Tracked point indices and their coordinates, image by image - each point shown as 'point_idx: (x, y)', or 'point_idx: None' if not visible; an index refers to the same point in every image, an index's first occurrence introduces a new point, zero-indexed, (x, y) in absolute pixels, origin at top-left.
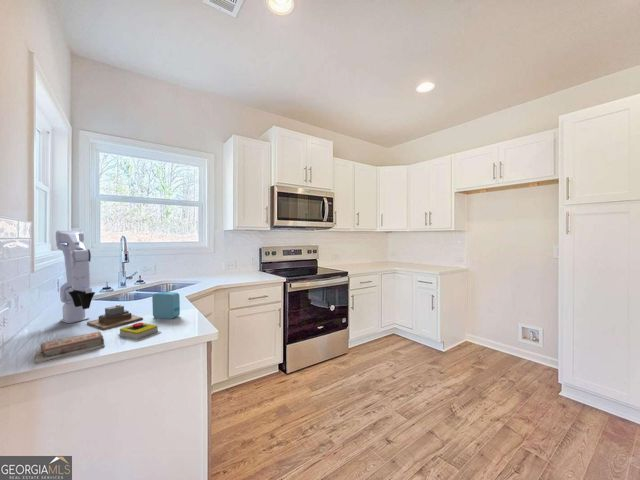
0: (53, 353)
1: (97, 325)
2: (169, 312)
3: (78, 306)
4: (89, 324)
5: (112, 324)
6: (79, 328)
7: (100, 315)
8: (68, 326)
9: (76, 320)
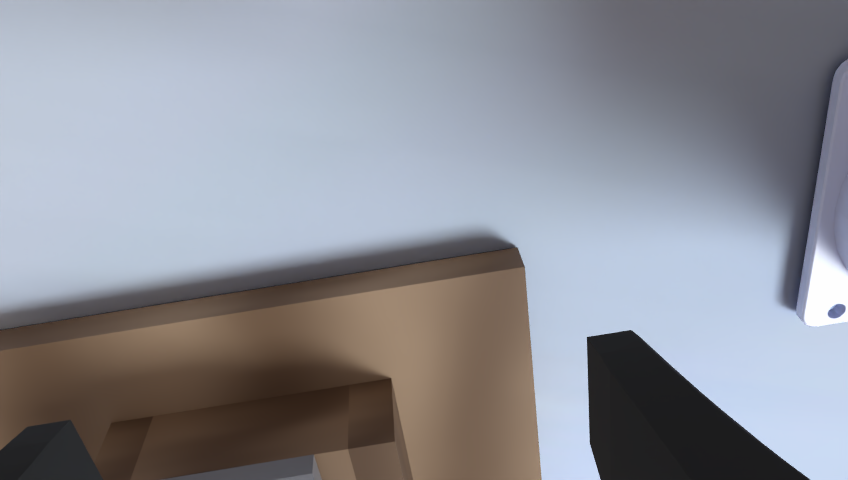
0: None
1: (142, 330)
2: None
3: (592, 392)
4: (422, 267)
5: None
6: (340, 127)
7: (297, 475)
8: (653, 26)
9: (845, 180)
